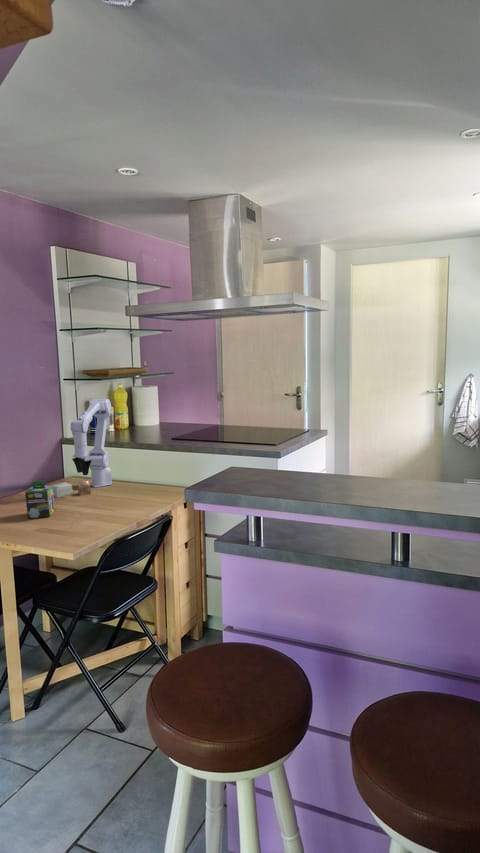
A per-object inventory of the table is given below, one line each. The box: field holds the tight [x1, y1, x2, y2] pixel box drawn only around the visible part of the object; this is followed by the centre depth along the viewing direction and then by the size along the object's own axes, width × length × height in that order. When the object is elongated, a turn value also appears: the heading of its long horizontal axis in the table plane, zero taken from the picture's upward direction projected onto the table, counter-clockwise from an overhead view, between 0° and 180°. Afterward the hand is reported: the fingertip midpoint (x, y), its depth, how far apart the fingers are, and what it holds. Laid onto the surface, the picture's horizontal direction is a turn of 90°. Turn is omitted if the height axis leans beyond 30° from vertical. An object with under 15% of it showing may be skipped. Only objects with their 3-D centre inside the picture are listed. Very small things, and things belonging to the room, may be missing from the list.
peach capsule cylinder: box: [78, 478, 91, 487], centre depth 268 cm, size 5×5×4 cm
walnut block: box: [77, 484, 92, 497], centre depth 257 cm, size 4×4×4 cm
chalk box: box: [24, 480, 56, 519], centre depth 224 cm, size 9×9×15 cm
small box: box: [52, 481, 74, 498], centre depth 257 cm, size 8×8×5 cm
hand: (82, 473), depth 256 cm, fingers open, 7 cm apart
